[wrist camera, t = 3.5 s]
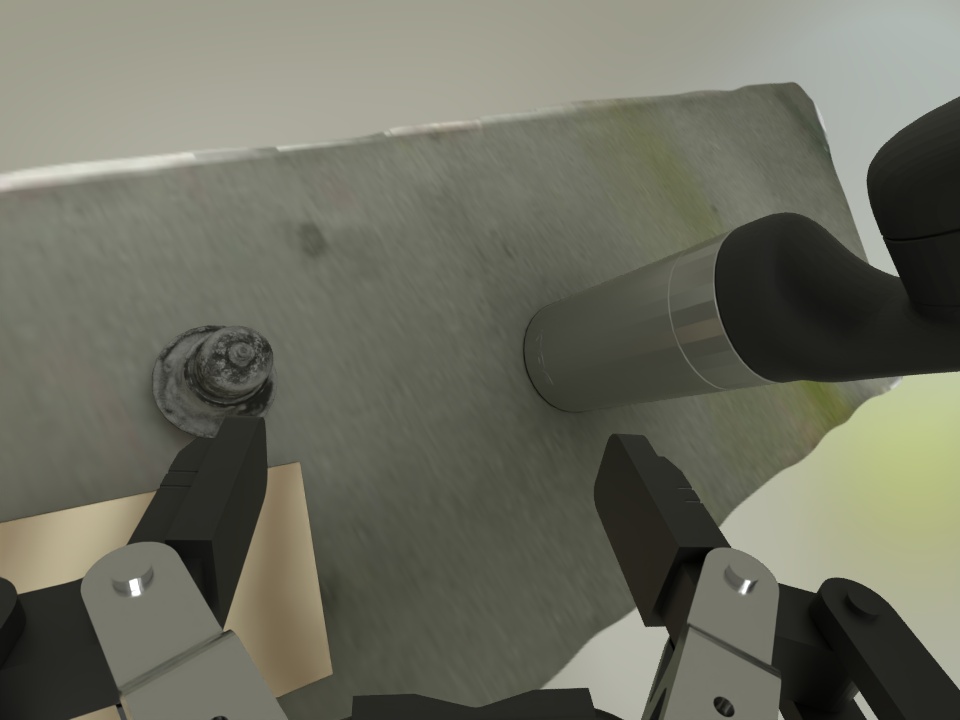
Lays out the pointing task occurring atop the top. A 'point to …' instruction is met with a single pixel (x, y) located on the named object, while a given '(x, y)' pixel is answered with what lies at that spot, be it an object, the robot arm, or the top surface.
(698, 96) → the top surface
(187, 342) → the salt shaker
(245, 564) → the birch board
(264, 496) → the robot arm
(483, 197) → the top surface
